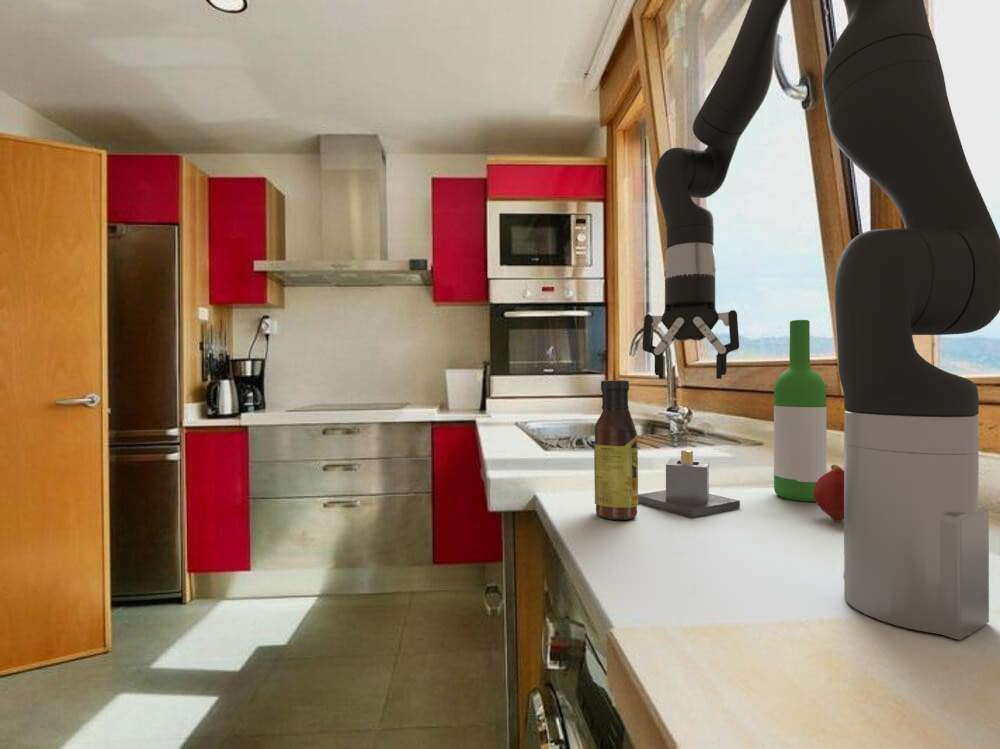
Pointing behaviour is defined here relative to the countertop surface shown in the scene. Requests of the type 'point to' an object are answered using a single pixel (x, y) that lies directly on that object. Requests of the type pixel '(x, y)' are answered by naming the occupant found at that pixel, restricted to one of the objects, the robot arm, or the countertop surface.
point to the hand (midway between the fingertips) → (689, 378)
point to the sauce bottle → (615, 455)
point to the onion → (831, 493)
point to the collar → (687, 481)
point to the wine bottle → (799, 421)
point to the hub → (688, 508)
